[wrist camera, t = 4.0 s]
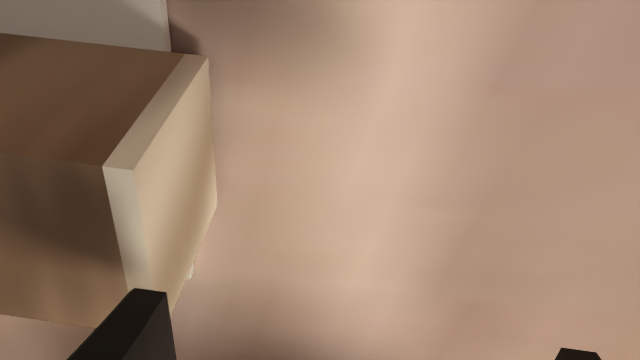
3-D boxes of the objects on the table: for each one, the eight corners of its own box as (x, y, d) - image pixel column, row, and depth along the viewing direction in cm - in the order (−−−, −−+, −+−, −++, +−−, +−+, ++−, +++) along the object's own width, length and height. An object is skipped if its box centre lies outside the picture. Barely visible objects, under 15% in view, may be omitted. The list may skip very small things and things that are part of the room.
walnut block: (161, 337, 14) (-190, 286, 14) (217, 205, 18) (-59, 169, 18) (133, 170, 11) (-312, 113, 11) (208, 56, 15) (-123, 18, 15)
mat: (193, 270, 20) (190, 278, 20) (-76, 233, 21) (-83, 241, 20) (156, -100, 13) (149, -97, 13) (-257, -140, 13) (-273, -138, 13)
